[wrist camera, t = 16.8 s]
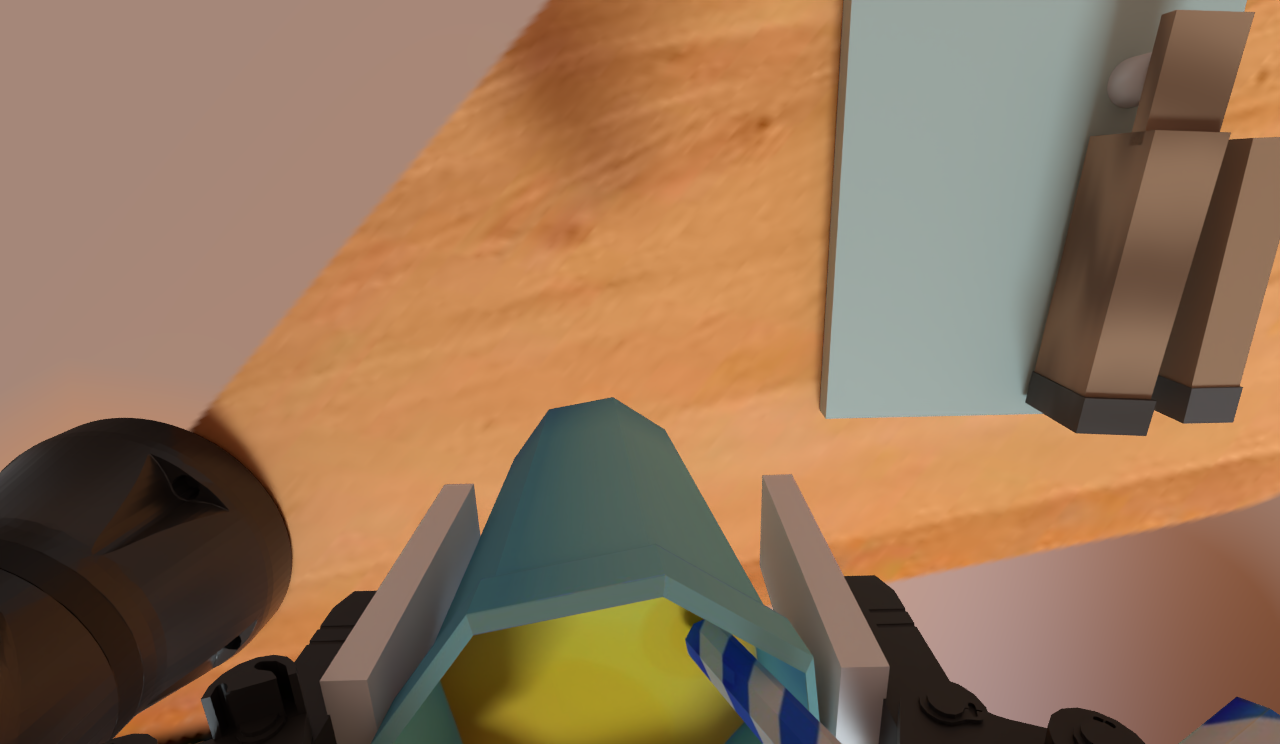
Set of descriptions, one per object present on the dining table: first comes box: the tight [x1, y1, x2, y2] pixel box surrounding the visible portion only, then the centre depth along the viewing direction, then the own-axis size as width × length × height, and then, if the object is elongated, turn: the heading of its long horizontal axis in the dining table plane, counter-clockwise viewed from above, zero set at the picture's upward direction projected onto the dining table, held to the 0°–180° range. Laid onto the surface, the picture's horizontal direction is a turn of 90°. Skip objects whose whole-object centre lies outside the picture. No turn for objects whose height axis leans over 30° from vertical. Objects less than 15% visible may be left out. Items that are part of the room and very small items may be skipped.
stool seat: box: [820, 0, 1280, 423], centre depth 26 cm, size 16×20×5 cm
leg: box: [1025, 10, 1255, 436], centre depth 26 cm, size 16×3×4 cm, turn 178°
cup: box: [371, 397, 1280, 744], centre depth 13 cm, size 14×8×15 cm, turn 122°
